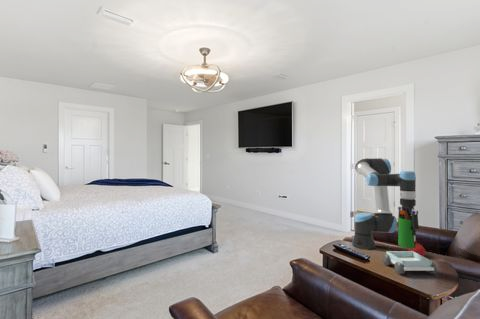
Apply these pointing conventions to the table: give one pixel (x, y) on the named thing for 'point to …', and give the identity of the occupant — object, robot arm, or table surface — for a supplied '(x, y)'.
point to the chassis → (408, 262)
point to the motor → (405, 232)
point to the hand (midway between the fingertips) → (407, 238)
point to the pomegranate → (418, 249)
